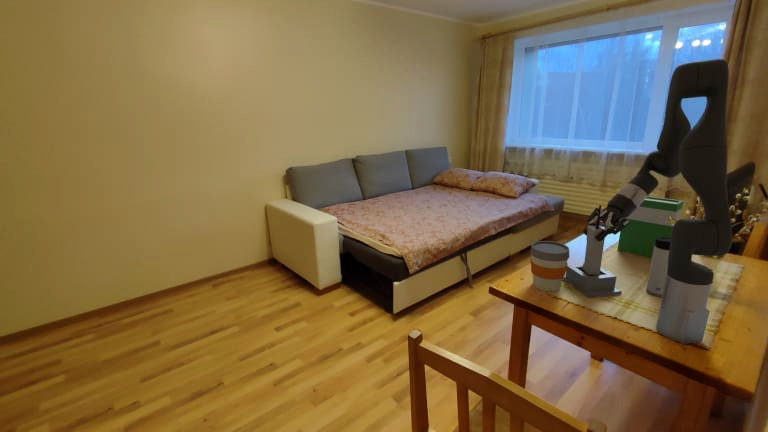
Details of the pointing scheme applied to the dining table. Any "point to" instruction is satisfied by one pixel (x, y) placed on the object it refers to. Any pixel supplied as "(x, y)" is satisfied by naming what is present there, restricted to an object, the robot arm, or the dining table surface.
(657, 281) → the travel mug
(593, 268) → the vintage mobile phone
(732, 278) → the dining table surface
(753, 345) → the dining table surface
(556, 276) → the reusable coffee cup
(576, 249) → the dining table surface
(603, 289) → the box
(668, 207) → the hardback book
